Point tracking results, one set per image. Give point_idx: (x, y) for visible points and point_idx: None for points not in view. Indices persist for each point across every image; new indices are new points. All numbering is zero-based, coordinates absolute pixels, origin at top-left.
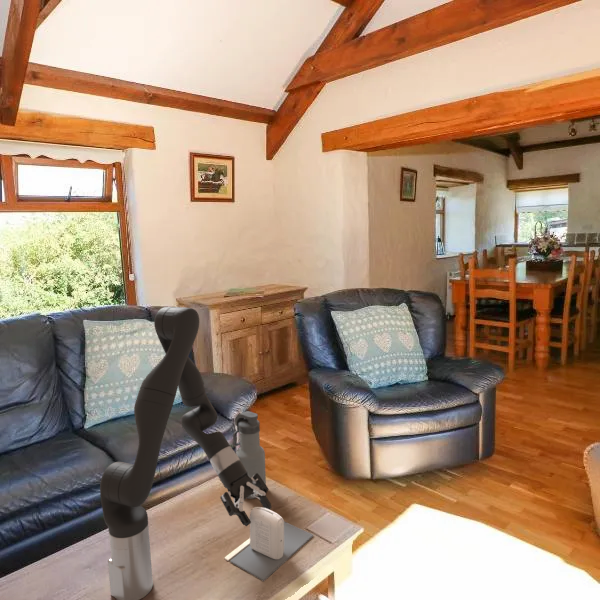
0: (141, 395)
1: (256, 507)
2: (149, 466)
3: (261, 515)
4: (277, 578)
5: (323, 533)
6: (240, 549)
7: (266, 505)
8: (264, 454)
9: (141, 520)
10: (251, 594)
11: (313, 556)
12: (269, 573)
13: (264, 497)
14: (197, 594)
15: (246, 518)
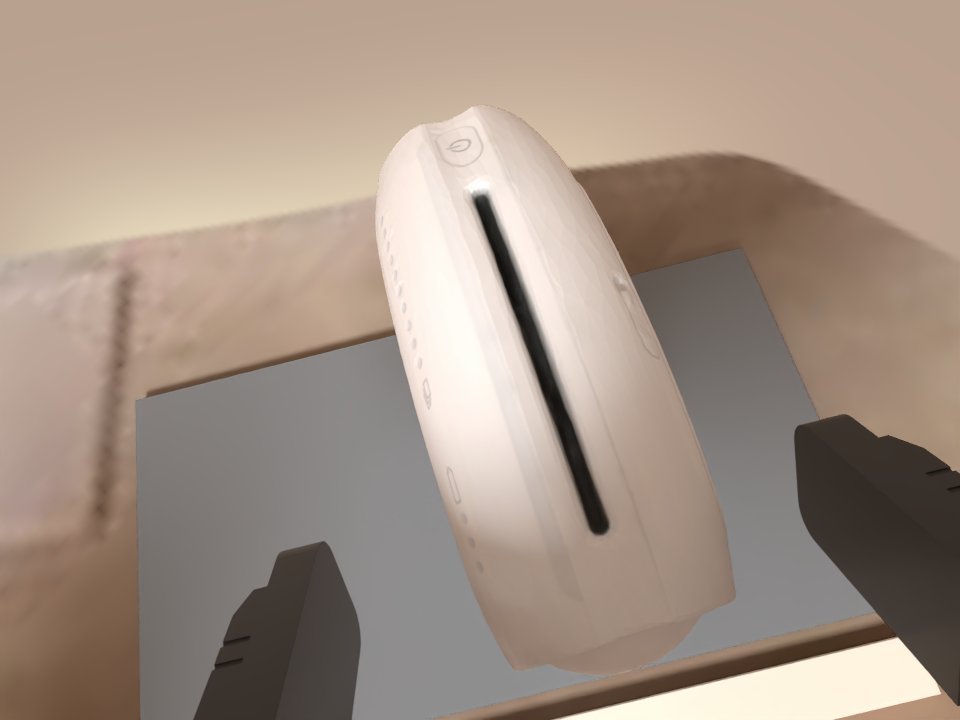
0: None
1: (583, 573)
2: None
3: (634, 315)
4: (639, 225)
5: (72, 382)
6: (738, 686)
7: (322, 624)
8: None
9: None
10: (870, 212)
11: (314, 244)
12: (672, 269)
13: (249, 715)
14: None
15: (898, 457)
